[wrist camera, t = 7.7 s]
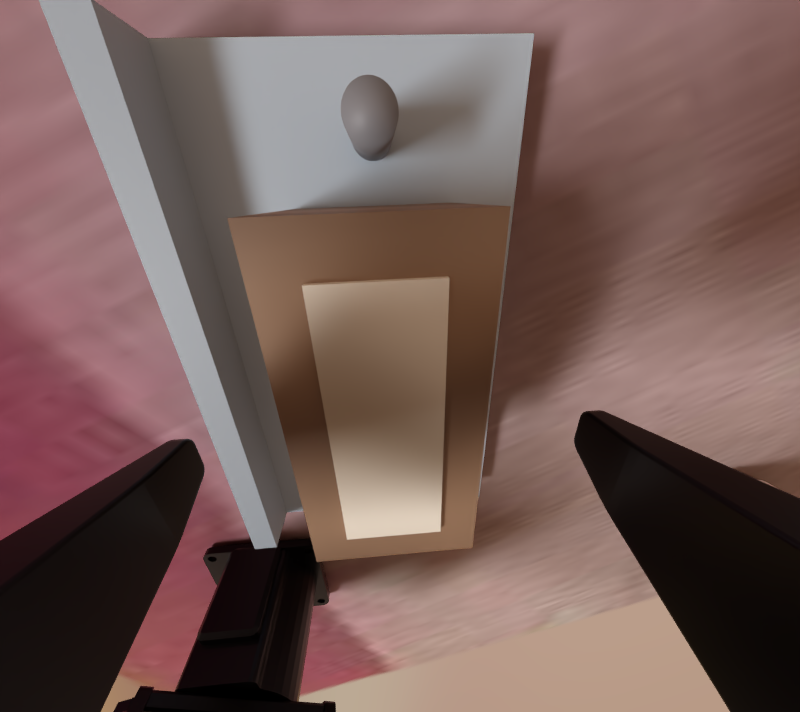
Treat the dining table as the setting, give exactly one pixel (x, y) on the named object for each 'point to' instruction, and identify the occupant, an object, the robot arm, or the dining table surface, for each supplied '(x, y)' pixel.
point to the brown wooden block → (379, 364)
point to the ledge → (278, 177)
